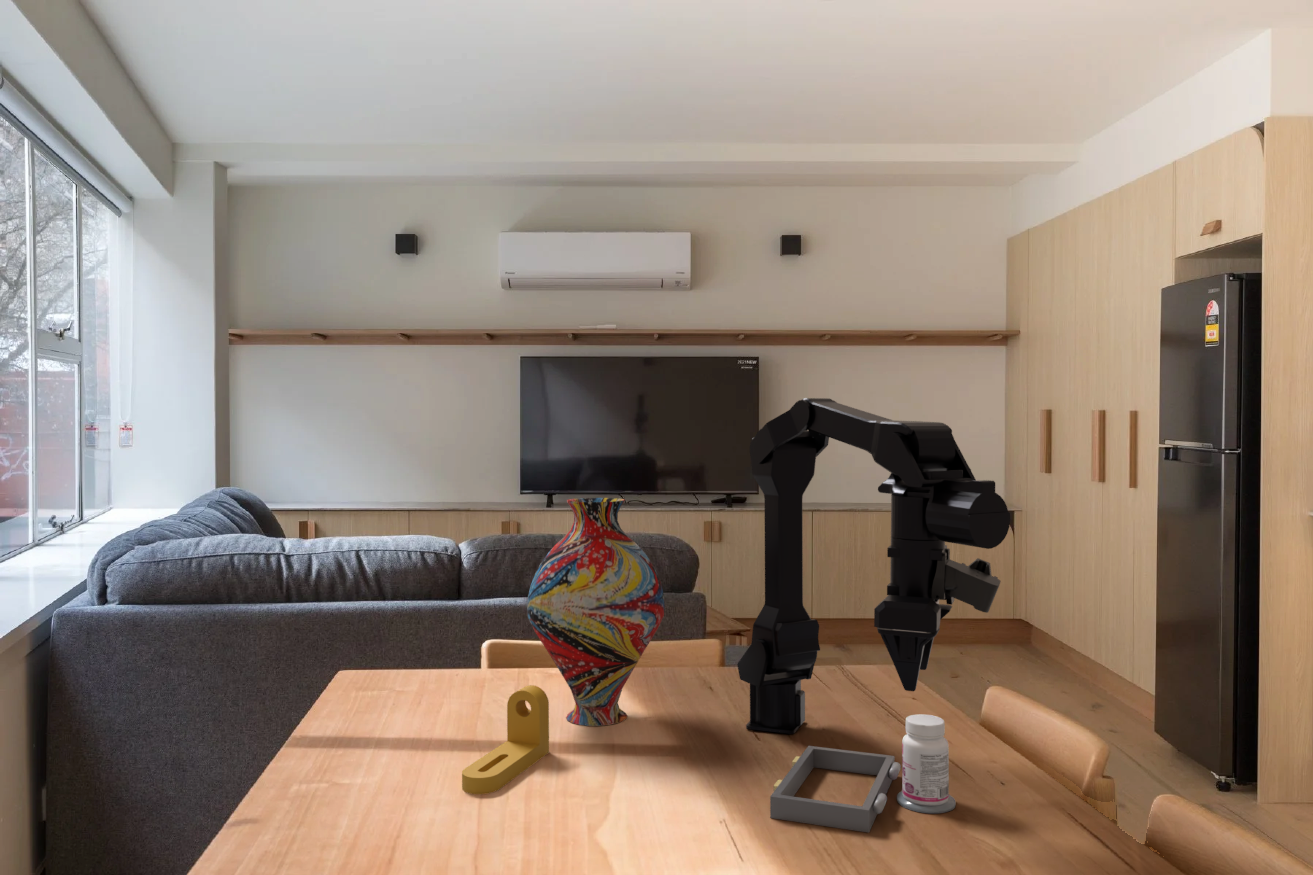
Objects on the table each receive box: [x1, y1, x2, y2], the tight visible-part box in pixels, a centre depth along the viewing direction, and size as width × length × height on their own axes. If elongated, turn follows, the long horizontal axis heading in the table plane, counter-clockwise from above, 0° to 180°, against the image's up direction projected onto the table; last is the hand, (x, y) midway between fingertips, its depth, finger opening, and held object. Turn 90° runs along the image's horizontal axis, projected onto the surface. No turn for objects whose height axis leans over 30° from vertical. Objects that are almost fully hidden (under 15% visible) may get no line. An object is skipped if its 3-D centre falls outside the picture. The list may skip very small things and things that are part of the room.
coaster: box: [896, 790, 957, 814], centre depth 104 cm, size 6×6×1 cm
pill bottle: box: [901, 713, 950, 806], centre depth 104 cm, size 5×5×8 cm
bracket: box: [461, 684, 550, 795], centre depth 114 cm, size 15×4×8 cm, turn 161°
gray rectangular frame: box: [769, 745, 902, 833], centre depth 106 cm, size 12×17×2 cm
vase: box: [527, 497, 666, 727], centre depth 135 cm, size 19×19×30 cm
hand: (916, 679), depth 107 cm, fingers open, 9 cm apart
